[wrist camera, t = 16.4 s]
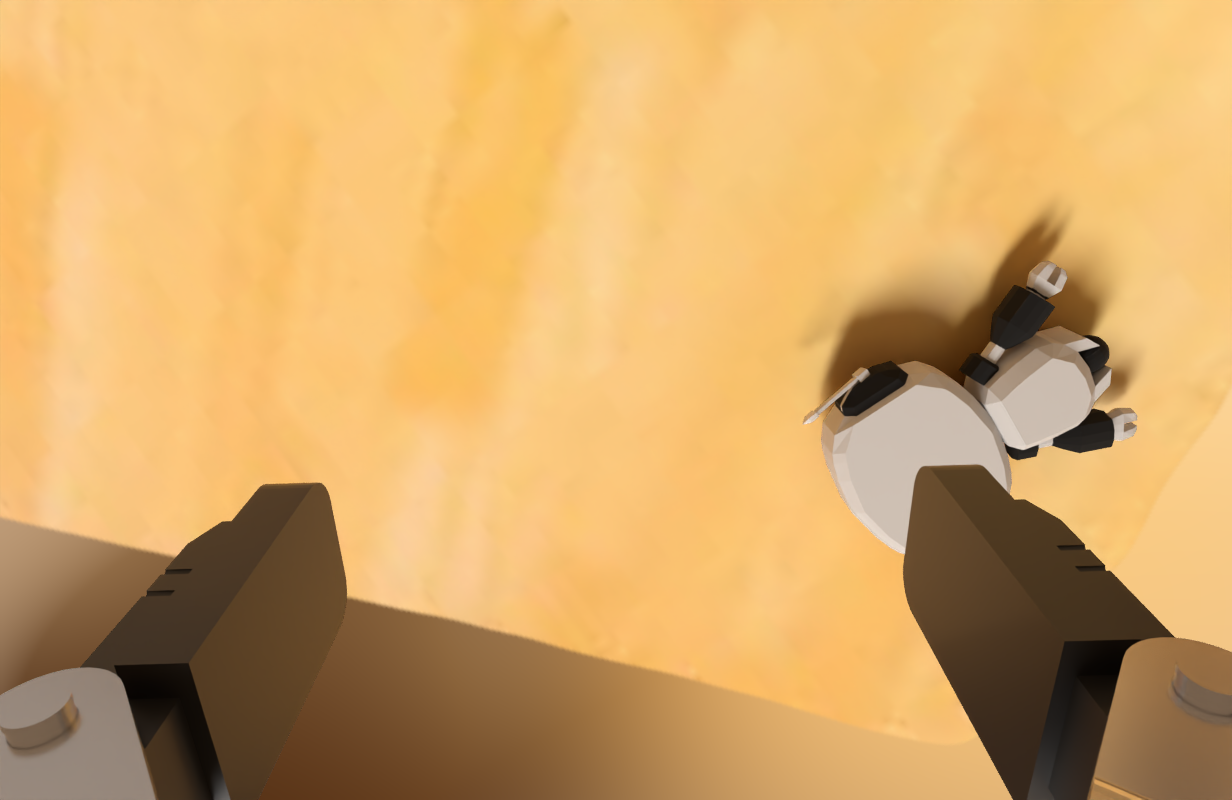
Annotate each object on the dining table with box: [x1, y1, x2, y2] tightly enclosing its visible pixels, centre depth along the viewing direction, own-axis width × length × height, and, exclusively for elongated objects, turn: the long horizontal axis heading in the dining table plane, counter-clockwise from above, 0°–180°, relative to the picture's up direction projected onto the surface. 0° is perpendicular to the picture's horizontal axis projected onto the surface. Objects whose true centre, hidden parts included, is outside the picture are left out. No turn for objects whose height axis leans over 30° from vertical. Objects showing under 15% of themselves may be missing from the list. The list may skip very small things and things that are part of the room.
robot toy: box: [802, 261, 1137, 554], centre depth 42 cm, size 12×4×15 cm
